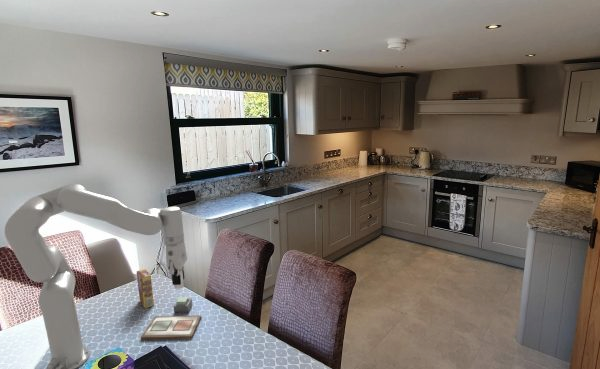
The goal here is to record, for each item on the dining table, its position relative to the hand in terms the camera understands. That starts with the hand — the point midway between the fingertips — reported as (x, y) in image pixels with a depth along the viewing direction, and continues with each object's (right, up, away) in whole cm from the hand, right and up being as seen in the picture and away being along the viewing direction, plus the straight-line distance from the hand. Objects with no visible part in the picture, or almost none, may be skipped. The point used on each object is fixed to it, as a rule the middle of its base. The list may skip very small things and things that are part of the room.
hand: (178, 281), depth 139 cm
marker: (0, -2, +1) cm, 2 cm away
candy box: (-23, -17, +24) cm, 37 cm away
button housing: (-4, -18, +18) cm, 26 cm away
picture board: (-4, -21, +4) cm, 21 cm away
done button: (-4, -15, +18) cm, 24 cm away
